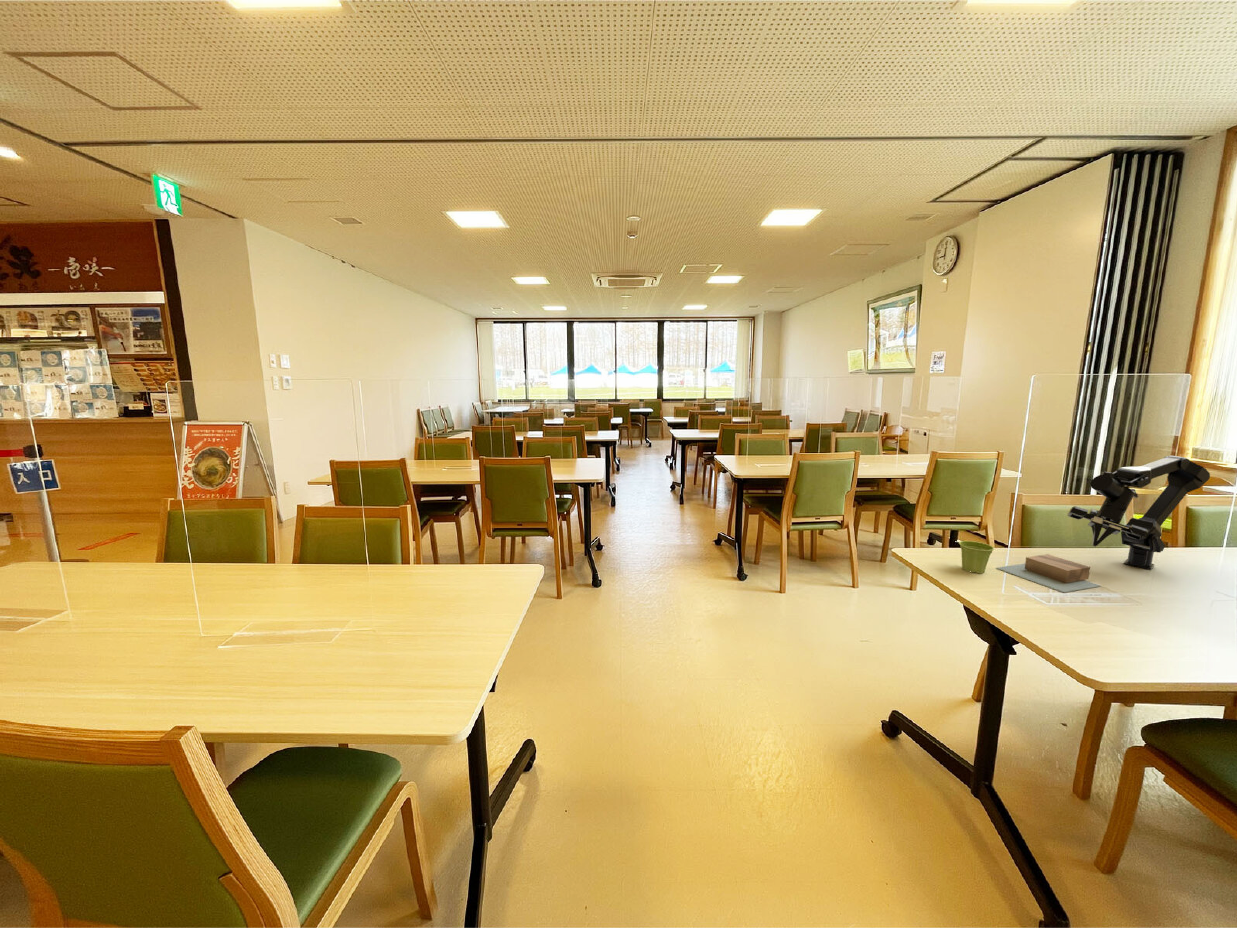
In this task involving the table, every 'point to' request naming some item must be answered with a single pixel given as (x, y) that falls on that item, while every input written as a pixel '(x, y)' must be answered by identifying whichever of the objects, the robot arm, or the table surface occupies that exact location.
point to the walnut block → (1057, 568)
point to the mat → (1047, 579)
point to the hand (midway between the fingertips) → (1094, 546)
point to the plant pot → (975, 555)
